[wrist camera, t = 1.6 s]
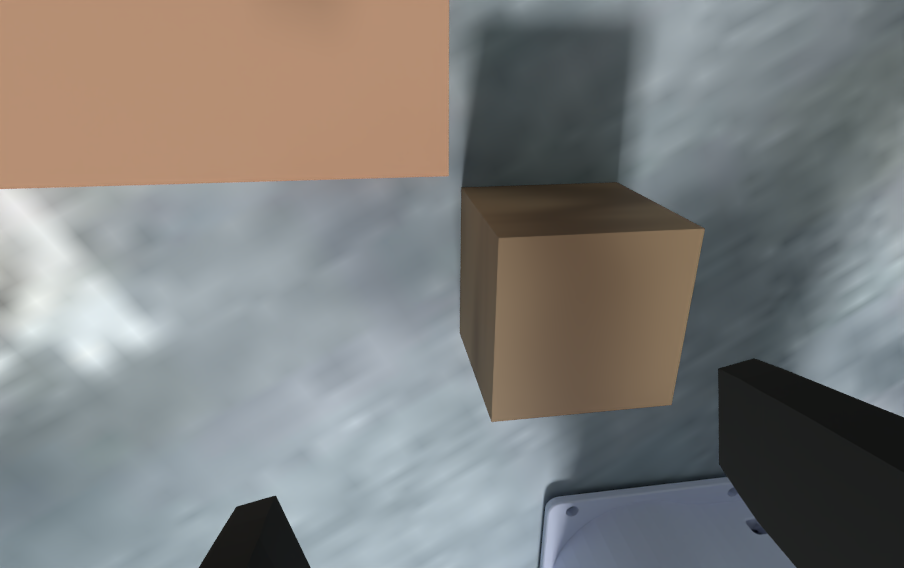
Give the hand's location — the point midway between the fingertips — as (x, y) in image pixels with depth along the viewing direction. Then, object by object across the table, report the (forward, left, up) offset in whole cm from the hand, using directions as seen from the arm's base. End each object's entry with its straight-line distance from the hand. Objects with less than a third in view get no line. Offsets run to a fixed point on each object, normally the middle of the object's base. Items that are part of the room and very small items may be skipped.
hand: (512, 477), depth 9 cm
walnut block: (-3, 0, -10) cm, 10 cm away
